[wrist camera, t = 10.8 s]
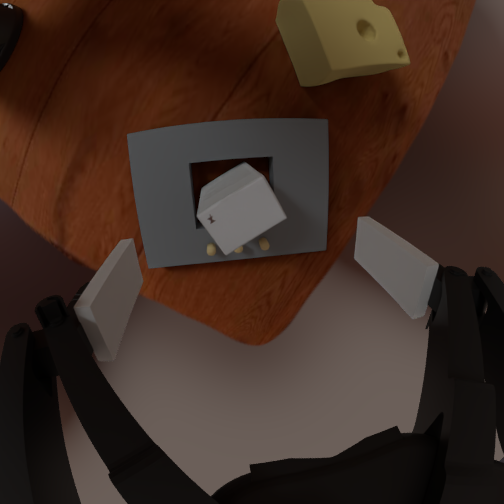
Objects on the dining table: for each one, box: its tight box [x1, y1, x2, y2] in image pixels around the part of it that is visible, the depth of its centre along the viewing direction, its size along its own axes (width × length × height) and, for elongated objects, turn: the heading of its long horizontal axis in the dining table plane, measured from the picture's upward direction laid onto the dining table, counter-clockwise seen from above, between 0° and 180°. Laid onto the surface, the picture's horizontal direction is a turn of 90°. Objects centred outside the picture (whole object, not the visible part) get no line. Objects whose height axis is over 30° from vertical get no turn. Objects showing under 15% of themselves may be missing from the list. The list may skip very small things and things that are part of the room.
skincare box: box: [197, 162, 287, 255], centre depth 27 cm, size 6×4×12 cm
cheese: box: [276, 0, 410, 87], centre depth 21 cm, size 10×11×10 cm
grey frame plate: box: [127, 118, 329, 268], centre depth 30 cm, size 22×16×4 cm
